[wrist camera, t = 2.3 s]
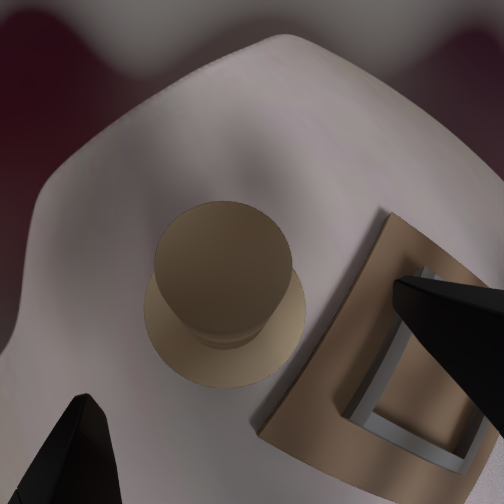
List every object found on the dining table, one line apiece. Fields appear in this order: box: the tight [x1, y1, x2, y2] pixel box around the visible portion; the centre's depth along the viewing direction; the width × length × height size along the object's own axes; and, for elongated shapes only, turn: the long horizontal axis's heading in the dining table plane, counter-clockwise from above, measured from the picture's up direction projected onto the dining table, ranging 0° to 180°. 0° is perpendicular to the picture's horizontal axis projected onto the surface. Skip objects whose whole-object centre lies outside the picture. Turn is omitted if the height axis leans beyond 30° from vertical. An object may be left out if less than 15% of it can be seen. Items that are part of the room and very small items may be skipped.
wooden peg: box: [144, 201, 306, 388], centre depth 13 cm, size 6×6×12 cm
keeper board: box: [257, 212, 500, 504], centre depth 17 cm, size 18×18×2 cm
